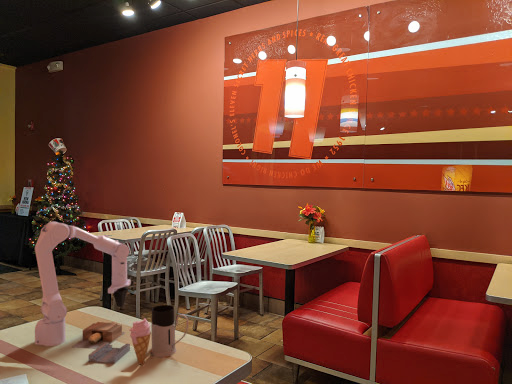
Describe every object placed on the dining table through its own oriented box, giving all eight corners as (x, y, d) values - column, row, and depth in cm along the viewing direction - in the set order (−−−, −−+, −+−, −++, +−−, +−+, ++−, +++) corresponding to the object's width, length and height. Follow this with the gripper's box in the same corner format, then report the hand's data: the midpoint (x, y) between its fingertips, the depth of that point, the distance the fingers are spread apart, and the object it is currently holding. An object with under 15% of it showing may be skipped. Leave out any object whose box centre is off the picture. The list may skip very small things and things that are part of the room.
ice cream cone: (144, 370, 121) (143, 322, 121) (126, 368, 122) (125, 321, 122) (154, 361, 127) (153, 315, 127) (136, 359, 129) (136, 314, 128)
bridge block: (71, 349, 136) (71, 334, 136) (96, 333, 151) (96, 319, 151) (103, 351, 135) (103, 336, 134) (125, 335, 149) (124, 321, 149)
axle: (88, 344, 139) (88, 336, 139) (109, 329, 152) (109, 322, 152) (96, 344, 138) (95, 336, 138) (116, 329, 152) (116, 321, 152)
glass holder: (160, 344, 140) (159, 303, 140) (194, 350, 135) (194, 307, 135) (145, 354, 132) (144, 310, 132) (181, 361, 127) (180, 315, 127)
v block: (88, 364, 125) (88, 354, 125) (105, 351, 135) (105, 342, 135) (114, 366, 124) (114, 356, 124) (129, 353, 133) (129, 343, 133)
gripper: (119, 277, 149) (120, 312, 150) (137, 269, 164) (137, 301, 164) (102, 276, 150) (103, 311, 151) (121, 268, 165) (122, 300, 165)
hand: (120, 306), depth 157 cm, fingers closed
